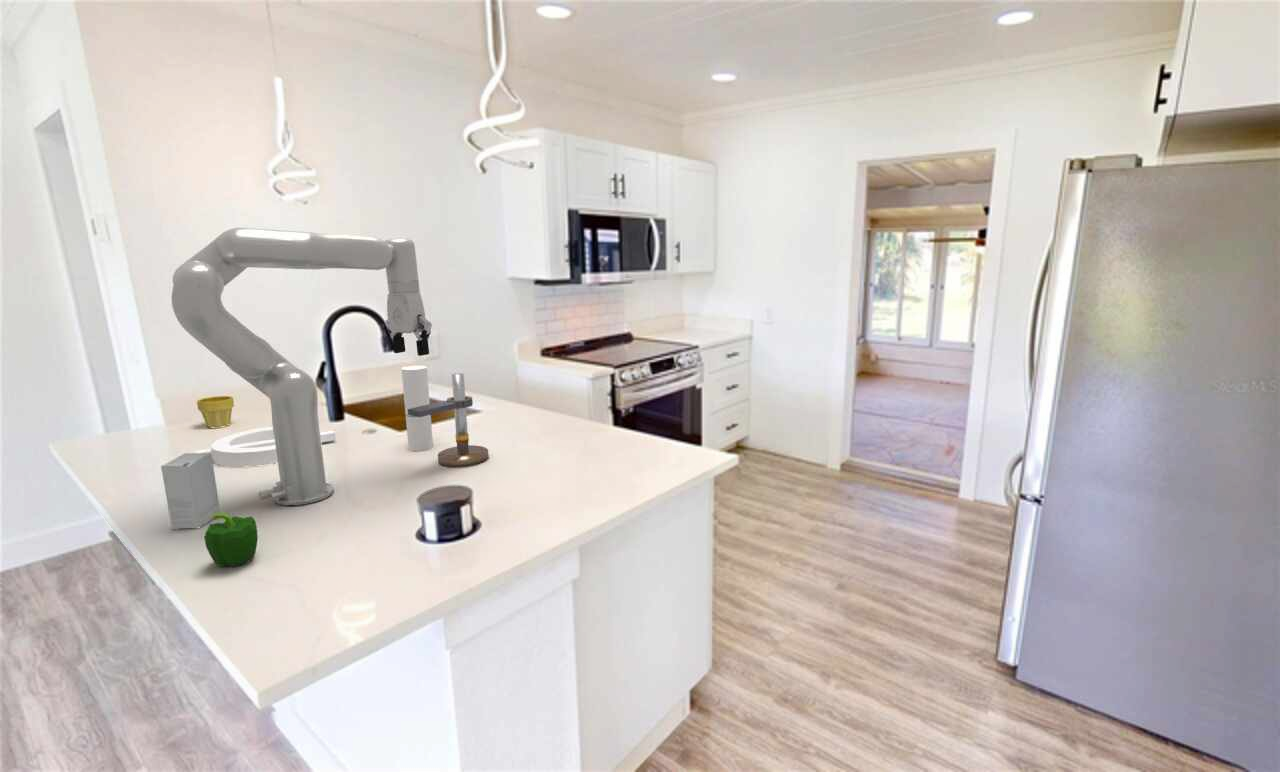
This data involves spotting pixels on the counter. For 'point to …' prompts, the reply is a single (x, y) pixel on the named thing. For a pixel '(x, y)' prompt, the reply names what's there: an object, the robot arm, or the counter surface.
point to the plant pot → (216, 410)
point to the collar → (440, 407)
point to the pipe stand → (461, 435)
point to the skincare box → (190, 490)
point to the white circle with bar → (250, 448)
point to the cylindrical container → (415, 397)
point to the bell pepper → (231, 540)
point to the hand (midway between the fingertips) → (411, 353)
